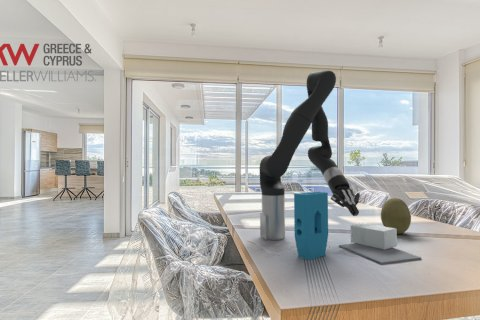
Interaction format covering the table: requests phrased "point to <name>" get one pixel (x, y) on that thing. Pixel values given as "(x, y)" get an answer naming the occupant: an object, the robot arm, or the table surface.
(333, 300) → the table surface
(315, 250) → the block
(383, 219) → the fruit
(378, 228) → the small box
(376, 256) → the mat
